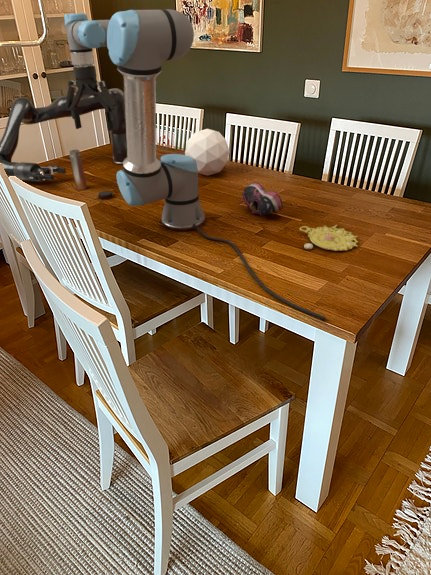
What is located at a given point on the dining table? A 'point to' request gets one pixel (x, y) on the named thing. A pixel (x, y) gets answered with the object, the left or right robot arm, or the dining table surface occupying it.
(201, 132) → the sphere
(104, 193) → the lid
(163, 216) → the right robot arm
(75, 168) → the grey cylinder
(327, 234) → the decorative object
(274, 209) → the athletic shoe
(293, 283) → the dining table surface
